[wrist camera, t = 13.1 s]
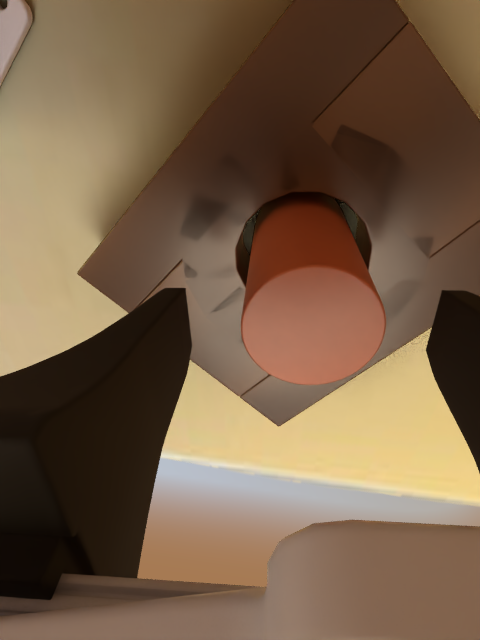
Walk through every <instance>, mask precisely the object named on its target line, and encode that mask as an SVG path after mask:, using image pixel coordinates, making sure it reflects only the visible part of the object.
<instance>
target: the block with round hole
mask: <svg viewBox="0 0 480 640" xmlns="http://www.w3.org/2000/svg"><path fill="white" fill-rule="evenodd" d="M291 192H321V193H324V194H326V195H328V196H331V197H333V198H336V199H338V200H340V201H343V202H345V203H346V204H347V205H348V206H349V207H350V208H351V209H352V210H353V211H354V212H355V213H356V217H357V220H358V224H357V232H356V239H355V242H356V244H357V246H358V249H359V251H360V253H361V255H362V258H363V260H364V262H365V265H366V267H367V269H368V271H369V274H370V276H371V278H372V280H373V283H374V285H375V287H376V289H377V292H378V294H379V296H380V299H381V301H382V303H383V306H384V309H385V314H386V329H385V334H384V338H383V341H382V343H381V345H380V347H379V349H378V351H377V352H376V354H375V355H374V356H373V358H372V359H371V360H370V361H369V362H368V363H367V364H366V365H365V366H364V367H362V368H361V369H360V370H358V371H357V372H355V373H354V374H352V375H350V376H348V377H346V378H344V379H341V380H338V381H335V382H331V383H327V384H320V385H301V384H294V383H290V382H286V381H283V380H280V379H278V378H276V377H274V376H272V375H270V374H268V373H267V372H265V371H264V370H263V369H261V368H260V367H259V366H258V365H257V364H256V363H255V362H254V361H253V359H252V358H251V357H250V355H249V354H248V352H247V350H246V348H245V346H244V344H243V340H242V336H241V317H242V310H243V303H244V297H245V290H246V283H247V276H248V269H249V262H250V256H249V254H248V252H247V250H246V248H245V246H244V243H243V230H244V227H245V225H246V222H247V221H248V220H249V219H250V218H251V217H252V216H253V215H254V214H255V213H256V212H257V211H258V210H259V209H260V208H261V207H262V206H263V205H264V204H265V203H267V202H270V201H272V200H274V199H277V198H279V197H281V196H284V195H286V194H289V193H291ZM77 274H78V275H79V276H81V277H82V278H83V279H85V280H86V281H87V282H89V283H90V284H91V285H93V286H94V287H95V288H96V289H98V290H99V291H100V292H102V293H103V294H104V295H106V296H107V297H108V298H110V299H111V300H112V301H114V302H115V303H116V304H118V305H119V306H120V307H122V308H123V309H124V310H126V311H127V312H128V313H130V312H131V311H133V310H134V309H136V308H137V307H138V306H140V305H141V304H143V303H144V302H145V301H147V300H148V299H149V298H151V297H152V296H153V295H155V294H156V293H158V292H159V291H161V290H162V289H164V288H186V296H187V304H188V313H189V322H190V331H191V339H192V349H191V355H190V360H191V361H193V362H194V363H195V364H197V365H198V366H199V367H201V368H202V369H203V370H205V371H206V372H207V373H209V374H210V375H211V376H213V377H214V378H215V379H217V380H218V381H219V382H221V383H222V384H223V385H224V386H226V387H227V388H228V389H230V390H231V391H232V392H234V393H235V394H236V395H238V396H240V397H241V398H242V399H243V400H244V401H246V402H247V403H248V404H249V405H251V406H252V407H253V408H255V409H256V410H257V411H259V412H260V413H261V414H263V415H264V416H265V417H267V418H268V419H269V420H271V421H272V422H273V423H275V424H276V425H277V426H281V425H282V424H284V423H285V422H287V421H288V420H290V419H291V418H293V417H294V416H296V415H298V414H299V413H301V412H302V411H304V410H305V409H307V408H308V407H310V406H311V405H313V404H314V403H316V402H318V401H319V400H321V399H322V398H324V397H325V396H327V395H328V394H330V393H331V392H333V391H334V390H336V389H338V388H339V387H341V386H342V385H344V384H345V383H347V382H348V381H350V380H351V379H353V378H354V377H356V376H357V375H359V374H361V373H362V372H364V371H365V370H367V369H368V368H370V367H371V366H373V365H374V364H376V363H377V362H379V361H381V360H382V359H384V358H385V357H387V356H388V355H390V354H391V353H393V352H394V351H396V350H397V349H399V348H401V347H402V346H404V345H405V344H407V343H408V342H410V341H411V340H413V339H414V338H416V337H417V336H419V335H420V334H422V333H424V332H425V331H427V330H428V329H430V328H431V327H432V326H433V322H434V318H435V315H436V311H437V307H438V303H439V300H440V296H441V292H442V290H465V291H468V292H471V293H473V294H476V295H478V296H480V120H479V119H478V117H477V116H476V114H475V113H474V112H473V110H472V109H471V107H470V106H469V104H468V103H467V102H466V100H465V99H464V97H463V96H462V94H461V93H460V92H459V90H458V89H457V87H456V86H455V85H454V83H453V82H452V80H451V79H450V77H449V76H448V75H447V73H446V72H445V70H444V69H443V67H442V66H441V65H440V63H439V62H438V60H437V59H436V57H435V56H434V55H433V53H432V52H431V50H430V49H429V47H428V46H427V45H426V43H425V42H424V40H423V39H422V37H421V36H420V35H419V33H418V32H417V30H416V29H415V27H414V26H413V25H412V23H411V22H408V18H407V16H406V15H405V14H404V12H403V11H402V9H401V8H400V6H399V5H398V4H397V2H396V1H395V0H294V1H293V2H292V3H291V4H290V6H289V7H288V8H287V9H286V11H285V12H284V13H283V14H282V16H281V17H280V18H279V20H278V21H277V22H276V23H275V25H274V26H273V27H272V28H271V30H270V31H269V32H268V33H267V35H266V36H265V37H264V38H263V40H262V41H261V42H260V43H259V45H258V46H257V47H256V48H255V50H254V51H253V52H252V53H251V55H250V56H249V57H248V58H247V60H246V61H245V62H244V64H243V65H242V66H241V67H240V69H239V70H238V71H237V72H236V74H235V75H234V76H233V77H232V79H231V80H230V81H229V82H228V84H227V85H226V86H225V87H224V89H223V90H222V91H221V92H220V94H219V95H218V96H217V97H216V99H215V100H214V101H213V102H212V104H211V105H210V106H209V108H208V109H207V110H206V111H205V113H204V114H203V115H202V116H201V118H200V119H199V120H198V121H197V123H196V124H195V125H194V126H193V128H192V129H191V130H190V131H189V133H188V134H187V135H186V136H185V138H184V139H183V140H182V141H181V143H180V144H179V145H178V146H177V148H176V149H175V150H174V152H173V153H172V154H171V155H170V157H169V158H168V159H167V160H166V162H165V163H164V164H163V165H162V167H161V168H160V169H159V170H158V172H157V173H156V174H155V175H154V177H153V178H152V179H151V180H150V182H149V183H148V184H147V185H146V187H145V188H144V189H143V190H142V192H141V193H140V194H139V196H138V197H137V198H136V199H135V201H134V202H133V203H132V204H131V206H130V207H129V208H128V209H127V211H126V212H125V213H124V214H123V216H122V217H121V218H120V219H119V221H118V222H117V223H116V224H115V226H114V227H113V228H112V229H111V231H110V232H109V233H108V234H107V236H106V237H105V238H104V240H103V241H102V242H101V243H100V245H99V246H98V247H97V248H96V250H95V251H94V252H93V253H92V255H91V256H90V257H89V258H88V260H87V261H86V262H85V263H84V265H83V266H82V267H81V268H80V270H79V271H78V273H77Z"/></svg>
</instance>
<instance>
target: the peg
mask: <svg viewBox="0 0 480 640" xmlns="http://www.w3.org/2000/svg"><path fill="white" fill-rule="evenodd" d="M385 329H386V314H385V309H384V306H383V303H382V301H381V299H380V296H379V294H378V292H377V289H376V287H375V285H374V283H373V280H372V278H371V276H370V274H369V271H368V269H367V267H366V265H365V262H364V260H363V258H362V255H361V253H360V251H359V249H358V246H357V244H356V242H355V240H354V237H353V235H352V233H351V231H350V228H349V226H348V224H347V221H346V219H345V217H344V215H343V212H342V210H341V208H340V207H339V205H338V204H337V202H336V201H335V200H334V199H333V198H332V197H331V196H328V195H326V194H324V193H321V192H291V193H289V194H286V195H284V196H281V197H279V198H277V199H274V200H272V201H270V202H267V203H265V204H264V205H263V207H262V208H261V210H260V212H259V214H258V216H257V219H256V222H255V228H254V235H253V241H252V248H251V255H250V262H249V269H248V276H247V283H246V290H245V297H244V303H243V310H242V317H241V336H242V340H243V344H244V346H245V348H246V350H247V352H248V354H249V355H250V357H251V358H252V359H253V361H254V362H255V363H256V364H257V365H258V366H259V367H260V368H261V369H263V370H264V371H265V372H267V373H268V374H270V375H272V376H274V377H276V378H278V379H280V380H283V381H286V382H290V383H294V384H301V385H320V384H327V383H331V382H335V381H338V380H341V379H344V378H346V377H348V376H350V375H352V374H354V373H355V372H357V371H358V370H360V369H361V368H362V367H364V366H365V365H366V364H367V363H368V362H369V361H370V360H371V359H372V358H373V356H374V355H375V354H376V352H377V351H378V349H379V347H380V345H381V343H382V341H383V338H384V334H385Z"/></svg>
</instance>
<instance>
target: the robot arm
mask: <svg viewBox="0 0 480 640" xmlns="http://www.w3.org/2000/svg"><path fill="white" fill-rule="evenodd" d="M7 1H8V4H7V8H6V9H5V10H4V9H3V8H2V7H1V5H0V86H1V84H2V82H3V80H4V78H5V76H6V74H7V72H8V70H9V68H10V66H11V64H12V62H13V60H14V58H15V56H16V54H17V53H18V51H19V49H20V47H21V45H22V43H23V41H24V39H25V37H26V35H27V33H28V31H29V29H30V27H31V24H32V20H33V19H32V12H31V9H30V7H29V5H28V4H27V3H26V1H25V0H7ZM191 349H192V339H191V331H190V322H189V313H188V304H187V296H186V288H164V289H162V290H161V291H159V292H158V293H156V294H155V295H153V296H152V297H151V298H149V299H148V300H147V301H145V302H144V303H143V304H141V305H140V306H138V307H137V308H136V309H134V310H133V311H131V312H130V313H129V314H127V315H126V316H124V317H123V318H121V319H120V320H118V321H117V322H115V323H114V324H112V325H111V326H109V327H107V328H106V329H104V330H103V331H101V332H100V333H98V334H96V335H95V336H93V337H91V338H89V339H88V340H86V341H84V342H82V343H80V344H78V345H76V346H74V347H72V348H70V349H68V350H66V351H64V352H62V353H60V354H58V355H55V356H53V357H50V358H48V359H46V360H43V361H41V362H39V363H36V364H34V365H32V366H29V367H27V368H24V369H21V370H18V371H16V372H13V373H10V374H7V375H4V376H1V377H0V640H480V527H477V526H459V525H458V526H457V525H440V524H421V523H402V522H384V521H365V520H364V521H363V520H345V521H335V522H324V523H314V524H311V525H310V526H307V527H305V528H303V529H301V530H299V531H297V532H295V533H293V534H291V535H289V536H287V537H285V538H284V539H282V540H281V541H280V542H279V543H278V545H277V546H276V548H275V550H274V552H273V554H272V556H271V558H270V559H269V561H268V572H267V575H268V576H267V587H255V586H241V585H225V584H211V583H196V582H182V581H166V580H152V579H138V578H137V574H138V569H139V563H140V557H141V551H142V545H143V540H144V534H145V528H146V524H147V518H148V513H149V508H150V503H151V498H152V493H153V488H154V483H155V478H156V474H157V469H158V465H159V460H160V456H161V451H162V447H163V444H164V440H165V437H166V434H167V431H168V428H169V425H170V422H171V419H172V416H173V413H174V410H175V407H176V404H177V402H178V399H179V396H180V393H181V390H182V387H183V384H184V381H185V378H186V375H187V371H188V366H189V361H190V355H191ZM426 352H427V355H428V359H429V362H430V366H431V369H432V372H433V375H434V378H435V380H436V382H437V384H438V387H439V389H440V391H441V393H442V395H443V397H444V399H445V401H446V403H447V405H448V407H449V409H450V411H451V413H452V415H453V416H454V418H455V420H456V422H457V424H458V426H459V428H460V430H461V432H462V434H463V436H464V438H465V440H466V442H467V444H468V446H469V448H470V451H471V453H472V455H473V457H474V459H475V462H476V464H477V467H478V470H479V473H480V296H478V295H476V294H473V293H471V292H468V291H465V290H442V292H441V296H440V300H439V303H438V307H437V311H436V315H435V318H434V322H433V326H432V329H431V333H430V337H429V341H428V344H427V348H426Z"/></svg>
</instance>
